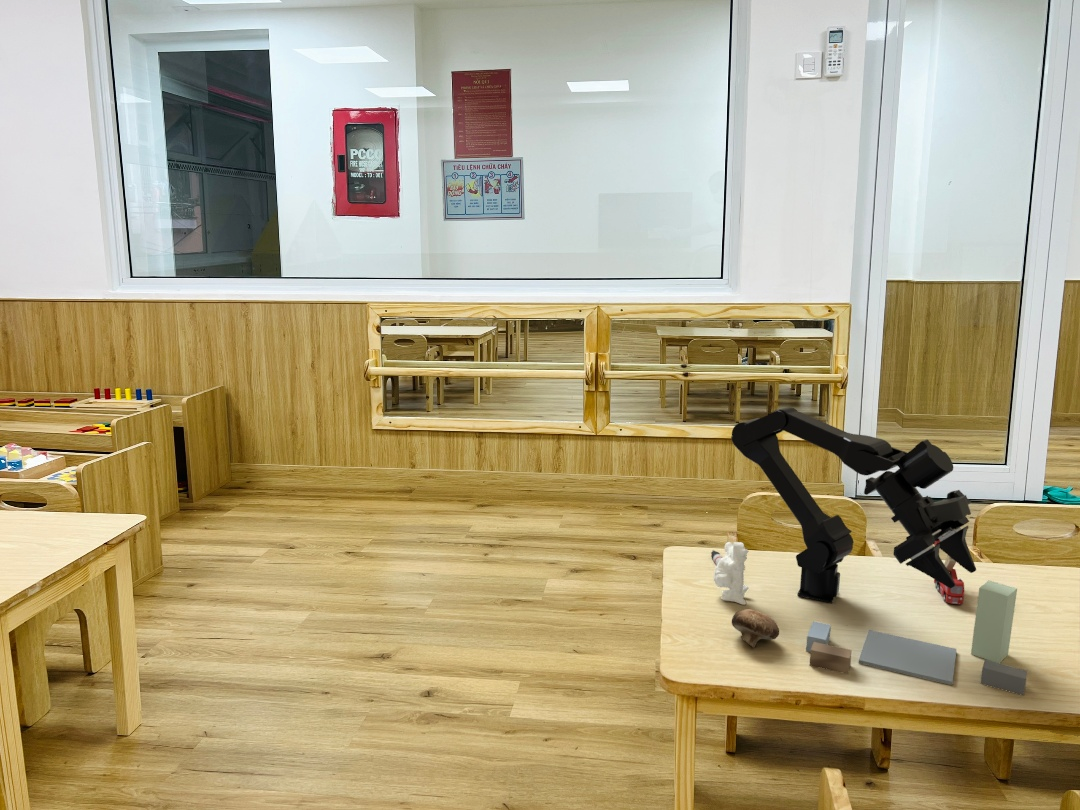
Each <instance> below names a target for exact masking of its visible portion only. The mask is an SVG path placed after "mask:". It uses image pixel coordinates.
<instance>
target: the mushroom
mask: <svg viewBox="0 0 1080 810" xmlns="http://www.w3.org/2000/svg"><path fill="white" fill-rule="evenodd" d="M731 625H732V627H733V628H734V629H735V630H736V631H738V632H740V634H741V636H740V638H741V639H742V640H743V641H744V642H746V644H748V645H749V646H751V647H752V648H753V649H754V648H755V647H756V645H757V643H758V641H760V640H770V641H771V640H776V639H777V638H778V637H779V635H780V628H779V626H778V625H779V624H777V622H776V621H775V620H774V619H773V618H772V617H771V616H769V615H767V614H765V613H763V612H760V611H758V610H755V609H751V608H748V609H741V610H739V611H736V612H735V613H734V614H733V616H732V619H731Z"/></svg>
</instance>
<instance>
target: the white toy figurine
mask: <svg viewBox="0 0 1080 810" xmlns="http://www.w3.org/2000/svg"><path fill="white" fill-rule="evenodd" d="M724 552H725V555H724V556H722V557H723V558H721V559H720V561H719V562H718V564H717V565H715V567H714V572H713V581H714V584H715V585H716V586H717V587H719V588H728V589H723V590H722V591H721V594H722V596H721V597H720V600H723V601H726V602H732V603H733V602H735V603H738V604H740V605H743V606H745V605H747V601H746V600H745V599H744V598H745V595H746V594H745V593H746V592H747V591H748V590H749V587H748V586H747V585H746V584H745V585H744V582H745V581H744V579H745V577H744V576H745V574H744V573H745V571H746V566H745V562H746V561H747V559H748V558H747V557H748V556H747V554H748V553H749V550H748V549H747V548H745V544H744V542H740V541H734V542H731V541H727V542H726V543H725V544H724Z"/></svg>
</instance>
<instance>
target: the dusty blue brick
mask: <svg viewBox="0 0 1080 810" xmlns="http://www.w3.org/2000/svg"><path fill="white" fill-rule="evenodd" d="M831 630H832V624H827V623H823V622H818V621H815V620H814V621H812V623H811V626H810V628H809V631H808V633H807V634H806V635H807V636H806V648H805V652H809V653H811V648H812V645H813V642H817V643H822V644H826V645H829V644H830V641H831V639H830V638H831Z"/></svg>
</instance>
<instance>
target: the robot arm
mask: <svg viewBox="0 0 1080 810" xmlns="http://www.w3.org/2000/svg"><path fill="white" fill-rule="evenodd" d="M782 432H786V433H788V434H791V435H793V436H794V437H797V438H799V439H801V440H803V441H806V442H808V443H809V444H812V445H815V446H817V447H819V448H821V449H823V450H826V451H828V452H830V453H832V454H834V455H835V456H836V457H838V458H839V460H840V461H841V462H842V464H844V465H845V466H846V467H848V468H850V469H851V470H853V471H854V472H855V473H857V474H859V475H862V476H870V475H873V474H876V473H878V472H883V473H881V474H880V475H878V476H877V477H872V476H871V477H869V478H866V479H865V486H864V489H863V490H864V491H863V494H864V495H866V496H867V495H870V494H872V493H874V492H877V493H878V495H879V496H880V497H881V499H882V501H883V502H884V503H885V504H886V505H887V507H888V508H889V509H890V510H891V512H892V513H893V516H892V517H891V518H890V519H891V520H892V522H893V523H897V522H899V523H900V525H902V527H903V529H904V530H905V531H906V533H907V534H908V536H906V538H905V540H904V541H903V542H900V543H899V544H897V545H896V546H894V547H893V557H894V558H895V559H896V561H897V562H898V563H899V564H903V563H904V562H906V561H907V562H906V563H905V565H906V566H907V567H909V566H910V567H911V568H913V569H915V570H918V571H919V572H921V573H923V574H925V575H926V576H928V577H930V578H932V579H933V580H934V579H935V580H937V581H939V582H940V583H942V584H944V585H945V586H947V587H949V588H952V587H954V586H955V585H956V584H955V582H954V580H953V578H952V577H951V575H950V573H949V572H948V570H947V568H946V567H945V565H944V563H945V562H943V560H942V559H941V557H940V550H941V551H942V552H944V553H945V554H946V556H947V555H949V556H950V557H951V558H952V559H954V560H955V561H956V564H958V565H960V566H961V567H962V568H963V569H965V570H966V571H967V572H969V573H970V574H972V573H974V572H976V571H977V567H976V564H975V562H974V559H973V556H972V554H971V552H970V549H969V546H968V543H967V540H966V537H967V533H968V530H969V525H966V524H968V523H970V520H969V519H968V518H967V516H971V515H972V512H971V509H970V506H969V505H970V504H971V503H972V501H971V499H969V498H968V497H967V494H963V492H961V490H960V489H958V490H952V491H949V492H948V493H947V494H946V499H945V498H944V499H942V500H938V501H934V499H933V498H932V496H928V495H926V496H924V497H923V495H922V494H921V493H920V491H919V490H918V489H917V488H920V489H922V490H923V489H924V490H925V489H927V488H929V487H931V486H932V485H933V484H934V483H936V482H938V481H940V480H941V479H943V478H944V477H945V476H947V475H948V474H950V473H951V472H953V471H954V464H953V461H952V459H951V457H950V456H949V455H948V453H947V452H946V451H944V450H942V449H941V448H940V447H939V446H936V445H934V444H932V442H931V441H930V440H929V439H923V440H922V441H920V442H919V443H917V444H916V445H915V446H914V447H913V448H912V449H910V450H909V451H904V450H902V449H898V448H895V447H893V446H892V445H891V444H890V443H889V442H888V441H887V440H885V439H882V438H879V437H874V436H870V435H867V434H866V435H865V434H858V433H857V434H856V433H850V432H847V431H844V430H842V429H840V428H837V427H835V426H833V425H830V424H828V423H826V422H823V421H822V420H819V419H817V418H814V417H812V416H810V415H807V414H805V413H803V412H801V411H798V410H797V408H795V407H792V406H786V407H785V406H784V407H782V408H778V409H776V410H773V412H771V413H769V414H767V415H765V416H763V417H757V418H752V419H749V420H745V421H741V422H738V423H736V424H735V425H734V427H733V428H732V431H731V437H730V439H731V442H732V445H733V446H734V447H735V448H736V449H737V450H738V451H739V452H740V453H741V454H742V455H743V456H744V457H745V458H746V459H748V460H750V461H751V462H753V463H755V464H756V465H758V466H759V467H760V469H761V470H762V472H763V473H764V475H765V476H766V478H767V479H768V480H769V482H770V483H771V484H772V486H773V487H774V489H775V490H776V492H777V493H778V494H779V497H781V499H782V500H783V502H784V503H785V504H786V506H787V507H788V509H789V510H790V512H791V513H792V515H793V516H794V517H795V519H796V520H797V521H798V523H799V524H800V528H801V532H802V537H803V538H802V539H803V543H804V544H805V546H806V549H803V550H802V551H801V552H800V553H798V554H796V555H795V559H796V564H797V567H799V568H801V572H800V582H799V583H800V584H799V590H798V592H797V597H801V598H805V599H810V600H815V601H820V602H825V603H833V602H834V599H835V598H836V597H837V596H838V595H839V592H840V583H841V582H840V581H841V573H840V572H839V571H838V570H839V569H838V568H839V563H842V562H843V560H844V558H845V557H847V556H849V555H850V554H851V553H852V551H853V550H854V549H853V548H854V539H853V536H852V535H851V534H852V530H851V529H850V528H848V527H847V525H846V524H845V523H844V520H843V518H842V517H841V516H840V515H839V514H836V515H833V516H832V517H831V516H829V515H828V514H827V513H825V512H824V511H823V510H822V509H821V507H820V506H819V504H818V503H817V502H816V500H815V499H814V498H813V496H812V495H811V493H810V492H809V491H808V489H807V487H806V486H805V485H804V484H803V482H802V481H801V480H800V478H799V477H798V475H797V474H796V472H795V471H794V470H793V468H792V467H791V465H790V464H789V463H788V461H787V460H786V458H785V457H784V456H783V454H782V453H781V450H780V444H779V443H780V442H779V438H778V435H777V434H779V433H782ZM896 467H897V468H898V469H897V470H896V471H891V469H893V468H896ZM964 525H966V526H965V527H963V526H964ZM962 527H963V528H962ZM938 540H940V541H941V542H939V543H938V544H936V546H935V545H934V543H935V541H938ZM939 548H940V549H939ZM908 560H909V561H908Z"/></svg>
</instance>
